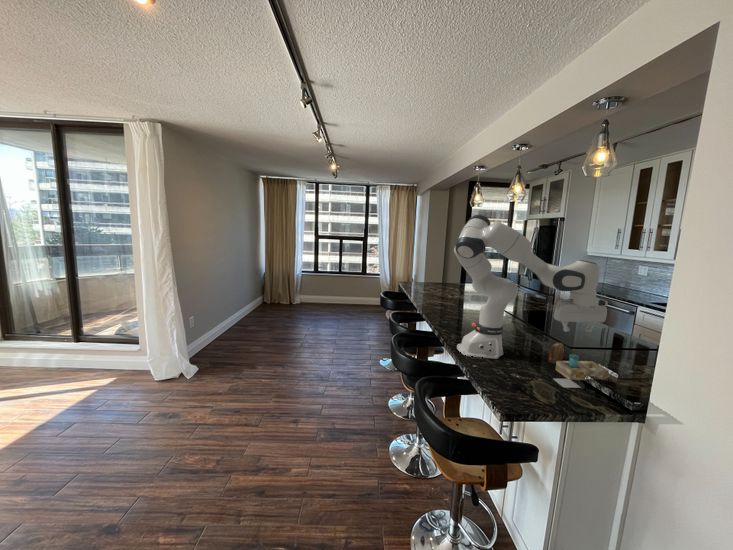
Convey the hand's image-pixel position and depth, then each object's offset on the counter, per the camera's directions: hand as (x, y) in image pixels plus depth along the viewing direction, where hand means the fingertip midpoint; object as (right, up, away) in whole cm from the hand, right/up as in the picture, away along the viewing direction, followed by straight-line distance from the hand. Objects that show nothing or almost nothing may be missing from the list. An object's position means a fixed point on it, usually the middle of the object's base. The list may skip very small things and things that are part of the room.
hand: (577, 331), depth 125 cm
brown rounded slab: (+2, -18, +18) cm, 25 cm away
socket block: (+4, -20, +3) cm, 20 cm away
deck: (-7, -21, -4) cm, 22 cm away
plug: (-1, -18, +3) cm, 19 cm away
